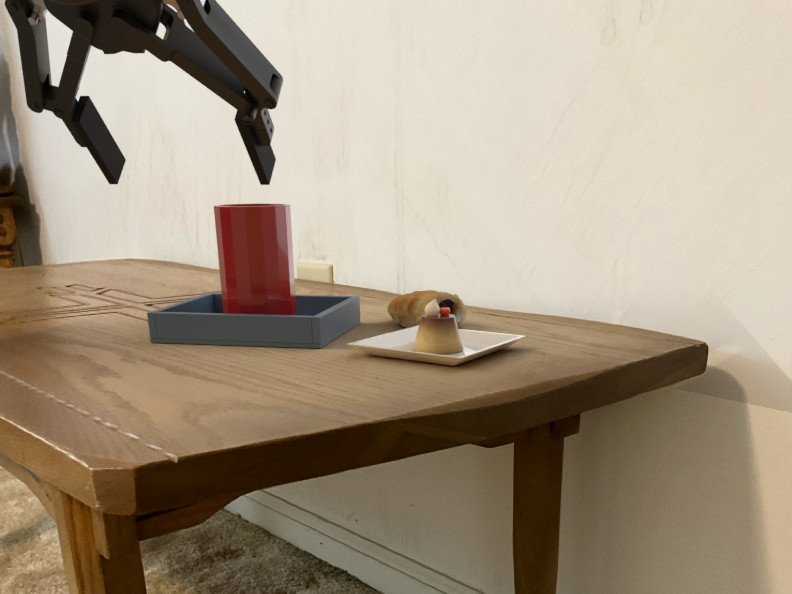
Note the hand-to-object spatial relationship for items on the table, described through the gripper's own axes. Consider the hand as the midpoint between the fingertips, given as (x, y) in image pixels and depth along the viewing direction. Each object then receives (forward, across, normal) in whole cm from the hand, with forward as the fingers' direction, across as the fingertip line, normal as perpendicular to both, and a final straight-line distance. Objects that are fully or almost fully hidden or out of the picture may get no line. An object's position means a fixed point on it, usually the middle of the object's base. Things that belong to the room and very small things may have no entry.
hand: (191, 172), depth 71 cm
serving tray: (+20, 0, -2) cm, 20 cm away
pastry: (+25, +16, +3) cm, 30 cm away
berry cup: (+19, 0, -2) cm, 19 cm away
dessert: (+15, +20, -7) cm, 26 cm away
